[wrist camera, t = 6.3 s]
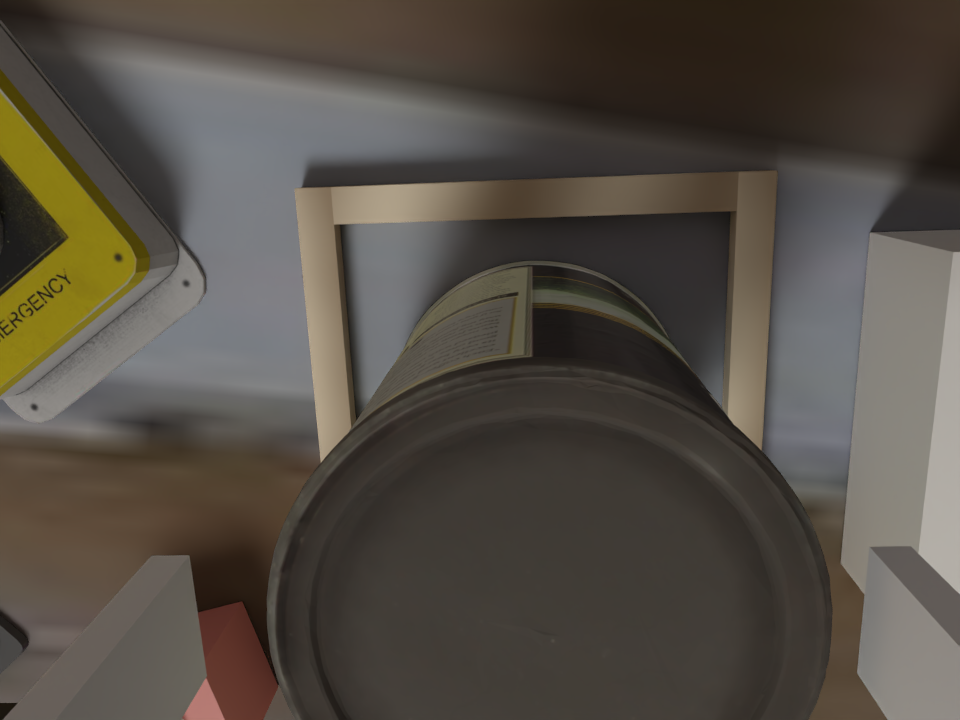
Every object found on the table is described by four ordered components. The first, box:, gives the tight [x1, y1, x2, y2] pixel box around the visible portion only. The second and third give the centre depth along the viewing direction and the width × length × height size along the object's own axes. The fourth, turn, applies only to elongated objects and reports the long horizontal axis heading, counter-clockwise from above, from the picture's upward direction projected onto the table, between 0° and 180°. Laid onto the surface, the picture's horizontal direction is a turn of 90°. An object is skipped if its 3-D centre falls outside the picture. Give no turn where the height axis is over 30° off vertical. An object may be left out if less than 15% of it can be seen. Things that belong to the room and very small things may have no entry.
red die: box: [181, 601, 278, 720], centre depth 29 cm, size 4×4×5 cm
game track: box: [295, 170, 778, 462], centre depth 29 cm, size 15×30×1 cm, turn 2°
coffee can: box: [267, 261, 832, 720], centre depth 21 cm, size 10×10×14 cm
